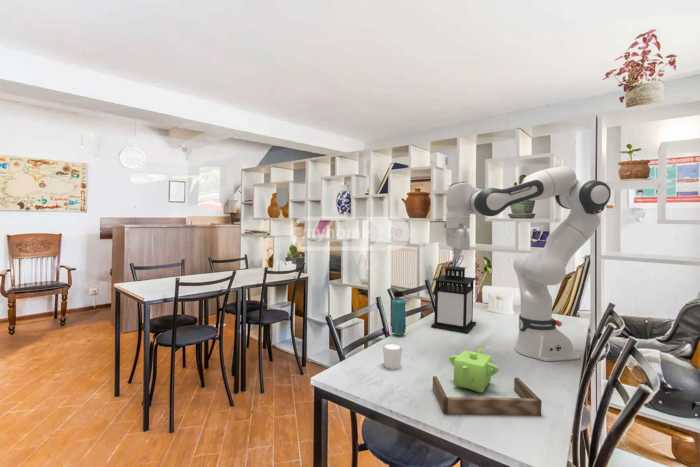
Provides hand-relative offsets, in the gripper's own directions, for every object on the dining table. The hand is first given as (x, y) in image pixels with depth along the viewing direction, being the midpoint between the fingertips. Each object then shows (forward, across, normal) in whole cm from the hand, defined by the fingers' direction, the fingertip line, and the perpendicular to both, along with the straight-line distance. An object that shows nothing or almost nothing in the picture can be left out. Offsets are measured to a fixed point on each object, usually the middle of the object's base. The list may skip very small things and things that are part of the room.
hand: (457, 259), depth 140 cm
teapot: (+37, -27, +2) cm, 46 cm away
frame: (+37, -37, +2) cm, 52 cm away
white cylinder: (+37, -13, +26) cm, 47 cm away
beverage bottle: (+37, +20, +20) cm, 47 cm away
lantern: (+37, +35, -9) cm, 52 cm away
